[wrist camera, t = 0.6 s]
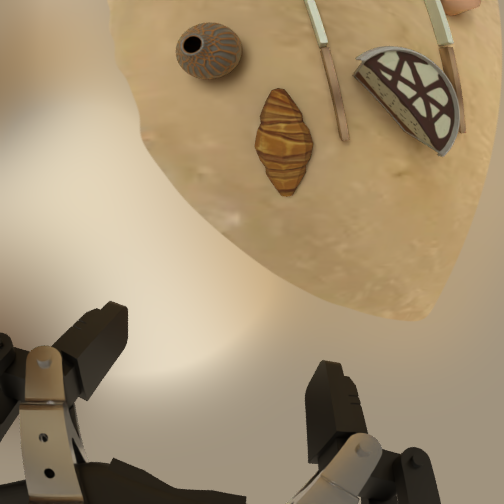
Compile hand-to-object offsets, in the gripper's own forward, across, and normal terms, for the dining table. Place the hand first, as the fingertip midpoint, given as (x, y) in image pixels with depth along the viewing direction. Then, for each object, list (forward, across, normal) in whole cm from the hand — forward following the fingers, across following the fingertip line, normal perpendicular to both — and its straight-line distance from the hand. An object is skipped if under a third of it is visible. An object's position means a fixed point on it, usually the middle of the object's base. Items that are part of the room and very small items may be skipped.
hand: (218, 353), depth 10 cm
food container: (+24, -12, -21) cm, 33 cm away
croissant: (+27, -1, -10) cm, 28 cm away
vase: (+24, +10, -19) cm, 32 cm away
